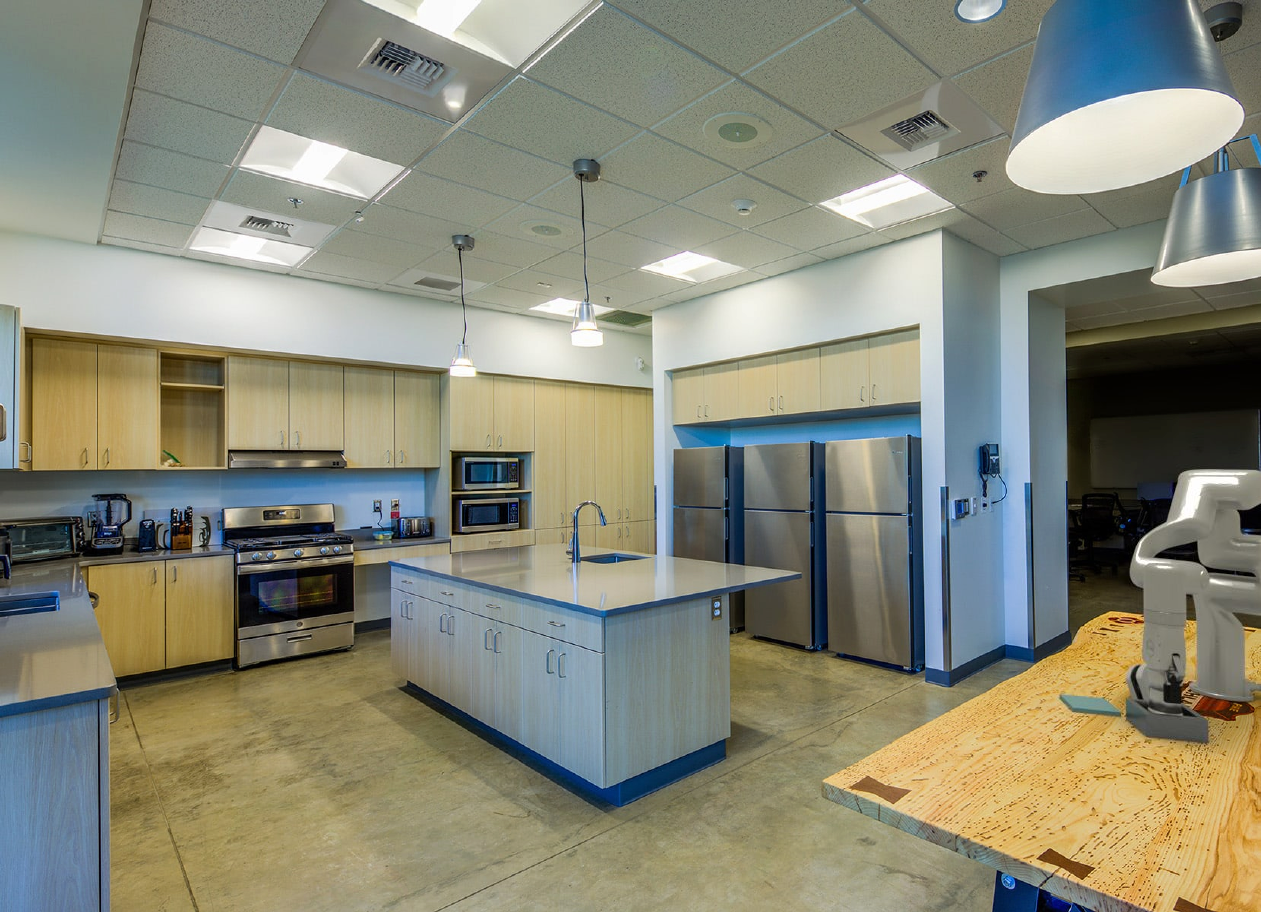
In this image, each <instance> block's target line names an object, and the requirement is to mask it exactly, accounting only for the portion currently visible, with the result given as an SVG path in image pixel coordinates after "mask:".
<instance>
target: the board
mask: <svg viewBox="0 0 1261 912" xmlns="http://www.w3.org/2000/svg"><path fill="white" fill-rule="evenodd" d="M1058 695H1059V699H1060V700H1061V701H1062V702H1063V703H1064V704H1065V705H1066V706H1067V708H1069V709H1070V710H1071V711H1072V712H1074V713H1080V714H1081V713H1082V714H1091V715H1092V714H1093V715H1100V716H1102V715H1103V716H1111V717H1120V718H1121V717H1122V712H1121V711H1120V710H1119V708H1117V707H1115V705H1113V704H1112V703H1111V702H1110V701H1108V700H1107V699H1106V698H1103V697H1097V696H1096V697H1094V696H1093V697H1091V696H1084V695H1083V696H1082V695H1073V694H1064V693H1063V694H1062V693H1061V694H1060V693H1059V694H1058Z"/></svg>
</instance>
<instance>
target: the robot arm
mask: <svg viewBox="0 0 1261 912" xmlns="http://www.w3.org/2000/svg"><path fill="white" fill-rule="evenodd" d="M1260 504H1261V471H1260V470H1258V469H1257V470H1256V469H1221V468H1220V469H1214V468H1213V469H1211V468H1210V469H1190V470H1189V469H1188V470H1186V471H1183V472H1181V473H1180V474H1179V475H1178V478H1177V484H1176V487H1175V491H1174V494H1173V498H1172V501H1171V506H1170V507H1169V508H1170V509H1169V512H1168V515H1167V519H1166V522H1164V523H1161V524H1160V525H1158V526H1156V527H1155V528H1153V529H1152V530H1150V531H1149V532H1148V533H1146V534H1145V535H1144V536H1142V538H1141V539H1140V540H1139V541H1138V543H1137V545H1136V546H1135V549H1134V553H1133V555H1132V558H1131V562H1130V566H1129V567H1130V568H1129V577H1130V579H1131V581H1132V583H1133V584H1134V585H1135V586H1136V587H1139V588H1142V589H1143V623H1144V624H1143V632H1142V644H1141V645H1142V648H1141V658H1142V660H1143V662H1145V663H1146V662H1147V659H1148V658H1150V659H1151V660H1152V662H1153V665H1154V668H1155V669H1157V670H1158V671H1164V678H1165V683H1166V684H1163V701H1164V702H1165V703H1173V704H1181V703H1182V704H1183V692H1182V691H1183V689H1182V688H1183V687H1184V686H1183V683H1184V679H1185V677H1186V670H1187V651H1186V650H1187V649H1186V638H1185V631H1184V629H1186V628H1187V595H1192V599H1193V602H1194V608H1195V619H1196V681H1192V682H1190V683H1189V684H1188V685H1189V687H1188V688H1189V690H1191V691H1192V692H1195V693H1196V694H1200V695H1202V696H1206V697H1208V698H1213V699H1217V700H1223V701H1231V702H1245V703H1246V702H1251V701H1253V700H1254V694H1253V692H1255V691H1258V692H1261V683H1257V682H1256V681H1250V680H1249V679H1246V642H1245V641H1246V640H1245V639H1246V634H1245V628H1244V627H1243V624H1242V623H1241V622H1240V620H1239V619H1238V618H1237V617H1236V616H1235V615H1234V613H1239V614H1246V615H1254V616H1261V535H1257V534H1243V533H1242V531H1241V517H1240V513H1239V512H1238V510H1239V511H1240V510H1241V511H1245V510H1246V511H1248V510H1251V509H1253V508H1254V507H1256V506H1258V505H1260ZM1194 542H1197V554H1198V559H1199V561H1200V563H1201V564H1200V563H1198V562H1194V561H1187V560H1177V559H1169V558H1158V557H1155V556H1156V555H1157V554H1159V553H1161V552H1162V551H1164V550H1166V549H1169V548H1173V547H1177V546H1181V545H1187V544H1190V543H1194ZM1205 567H1208V568H1212V569H1218V570H1227V571H1236V572H1246V573H1252V574H1253V575H1255V576H1244V575H1238V574H1227V573H1218V572H1208V570H1207V569H1206V568H1205ZM1169 667H1171V668H1174V670H1175V671H1170V670H1168V669H1169ZM1169 674H1174V675H1172V676H1171V678H1170V677H1169ZM1149 691H1150V686H1149Z"/></svg>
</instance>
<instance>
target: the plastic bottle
mask: <svg viewBox="0 0 1261 912" xmlns="http://www.w3.org/2000/svg"><path fill="white" fill-rule="evenodd" d="M1145 664H1146V666H1147V672H1148V677H1149V686H1150V698H1149V707H1148V710H1147V711H1148V712H1150V713H1158V714H1168V715H1178V716H1183V713H1182V707H1181V704H1173V703H1165V702H1164V701H1163V684H1166V683H1165V678H1164V671H1158V670H1157V669H1155V668H1154V665H1153V662H1152V660H1151V659H1150V658H1148V659H1147V662H1145ZM1168 670H1170V671H1175V670H1174V668H1171V667H1169V669H1168ZM1172 675H1174V674H1169V677H1170V678H1171V676H1172Z"/></svg>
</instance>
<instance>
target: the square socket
mask: <svg viewBox="0 0 1261 912" xmlns="http://www.w3.org/2000/svg"><path fill="white" fill-rule="evenodd" d="M1148 707H1149V700H1139V699H1132V698H1128V697H1127V698H1126V697H1125V720H1126V721H1127V722H1128V723H1129V724H1130V725H1131V726H1133V727H1134V728H1135V729H1137V730H1138V732H1140V733H1141V734H1142V735H1143V736H1145V737H1146V738H1154V739H1162V740H1163V739H1164V740H1174V741H1181V742H1191V743H1199V744H1200V743H1202V744H1209V719H1207V718H1206V717H1204V716H1203V715H1201V714H1200V713H1198V712H1197V711H1195V710H1194V709H1192V708H1191V707H1190V706H1188V705H1186V704H1185V703H1183V702H1182V703H1181V707H1182V713H1183V716H1178V715H1168V714H1158V713H1150V712H1148V711H1147V710H1148Z"/></svg>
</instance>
